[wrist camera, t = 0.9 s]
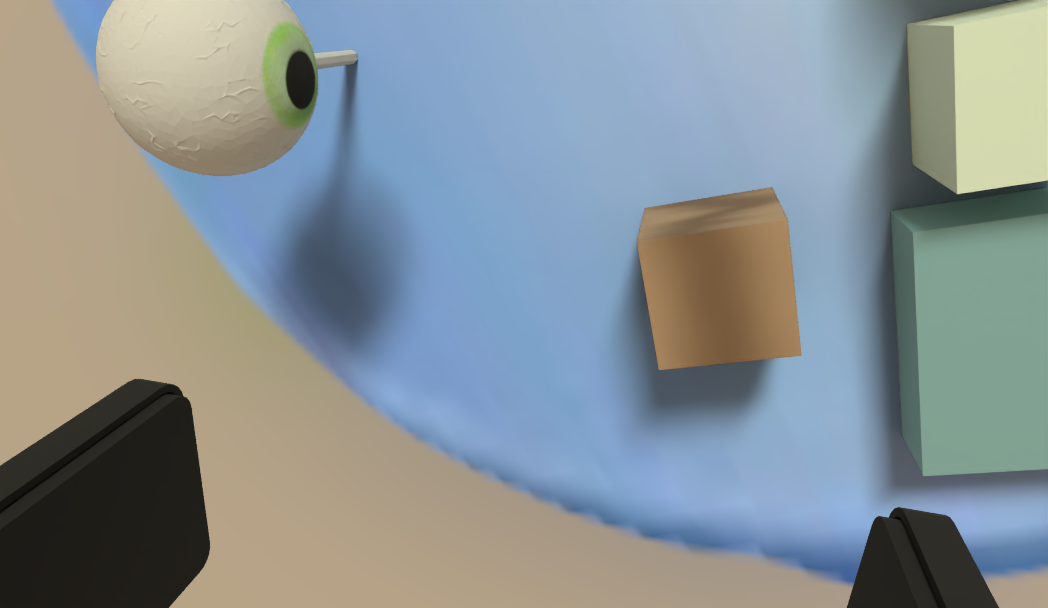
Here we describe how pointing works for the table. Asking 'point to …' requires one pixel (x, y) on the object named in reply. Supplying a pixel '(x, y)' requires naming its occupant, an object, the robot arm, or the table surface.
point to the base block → (973, 332)
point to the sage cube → (981, 96)
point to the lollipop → (210, 80)
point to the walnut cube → (719, 280)
